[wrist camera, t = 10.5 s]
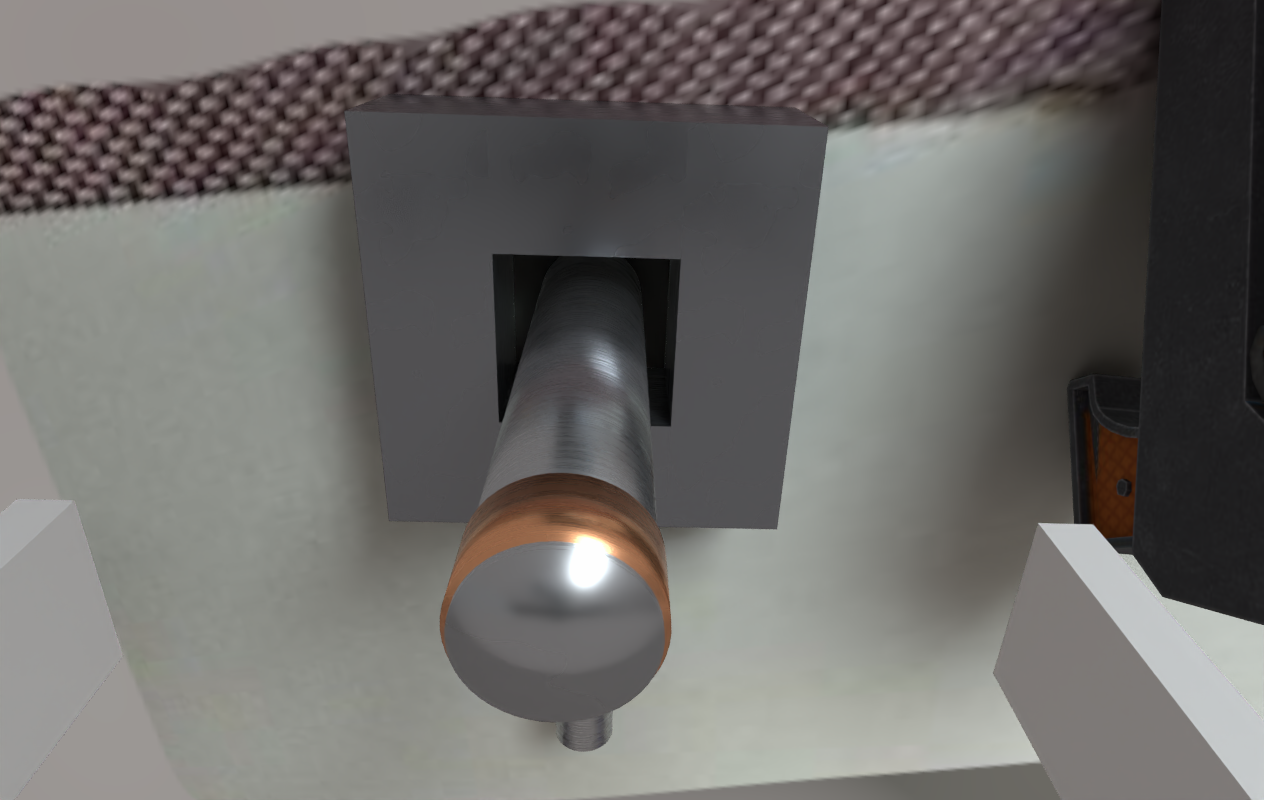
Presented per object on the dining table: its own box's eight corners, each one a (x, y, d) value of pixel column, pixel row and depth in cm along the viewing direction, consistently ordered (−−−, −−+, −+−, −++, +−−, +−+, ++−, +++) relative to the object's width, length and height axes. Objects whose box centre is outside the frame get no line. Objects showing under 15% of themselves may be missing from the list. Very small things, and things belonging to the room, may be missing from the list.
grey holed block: (389, 94, 22) (344, 110, 19) (795, 107, 23) (828, 127, 19) (440, 684, 31) (416, 773, 28) (730, 689, 32) (745, 778, 28)
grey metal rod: (537, 241, 24) (428, 540, 11) (647, 244, 24) (678, 546, 11) (538, 344, 26) (444, 726, 12) (642, 346, 26) (666, 729, 12)
